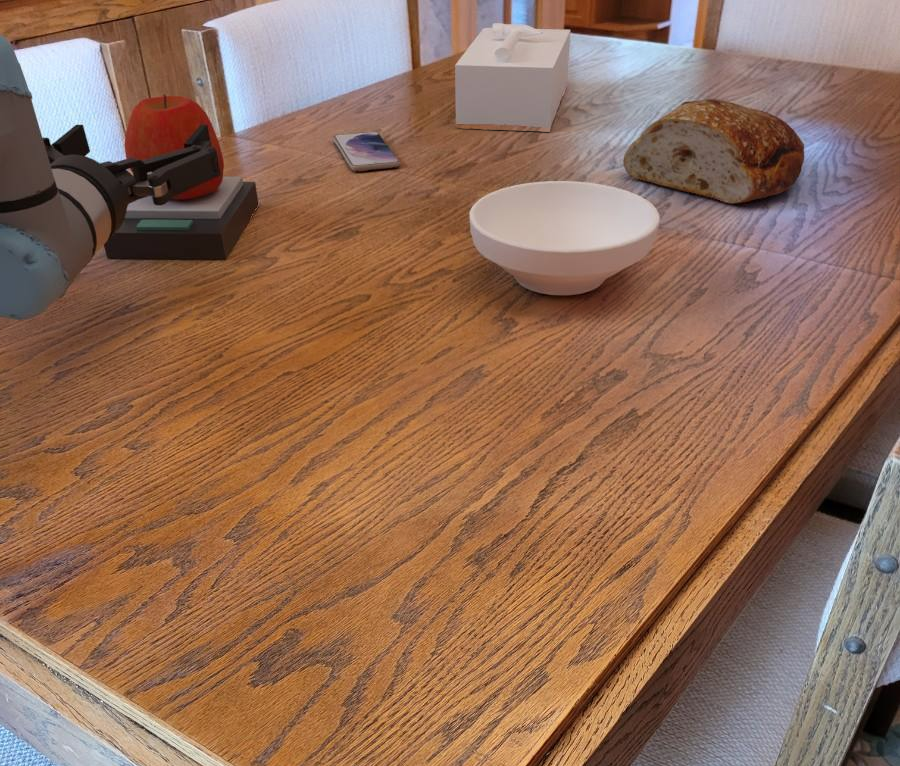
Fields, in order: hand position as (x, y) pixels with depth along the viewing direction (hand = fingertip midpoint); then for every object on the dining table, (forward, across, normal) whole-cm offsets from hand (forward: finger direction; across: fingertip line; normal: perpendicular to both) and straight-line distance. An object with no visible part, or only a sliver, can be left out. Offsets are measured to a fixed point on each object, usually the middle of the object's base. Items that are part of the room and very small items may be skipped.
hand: (144, 138), depth 97 cm
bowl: (-7, +45, -12) cm, 47 cm away
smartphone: (+35, +18, -12) cm, 41 cm away
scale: (+6, 0, -12) cm, 14 cm away
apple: (+8, 0, -8) cm, 11 cm away
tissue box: (+59, +40, -12) cm, 72 cm away
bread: (+25, +67, -12) cm, 73 cm away
